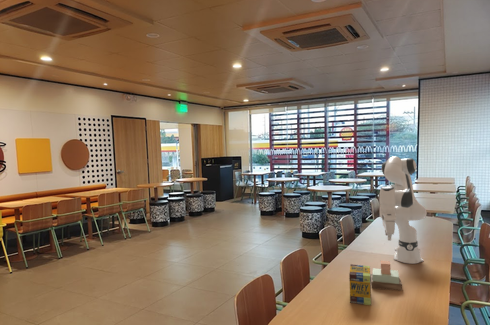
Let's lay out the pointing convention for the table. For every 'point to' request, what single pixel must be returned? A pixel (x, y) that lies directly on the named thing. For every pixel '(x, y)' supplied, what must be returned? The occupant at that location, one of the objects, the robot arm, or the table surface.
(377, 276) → the tower top
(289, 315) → the table surface
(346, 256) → the table surface
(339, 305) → the table surface
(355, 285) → the protein box
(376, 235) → the table surface
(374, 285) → the tower base
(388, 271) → the block
